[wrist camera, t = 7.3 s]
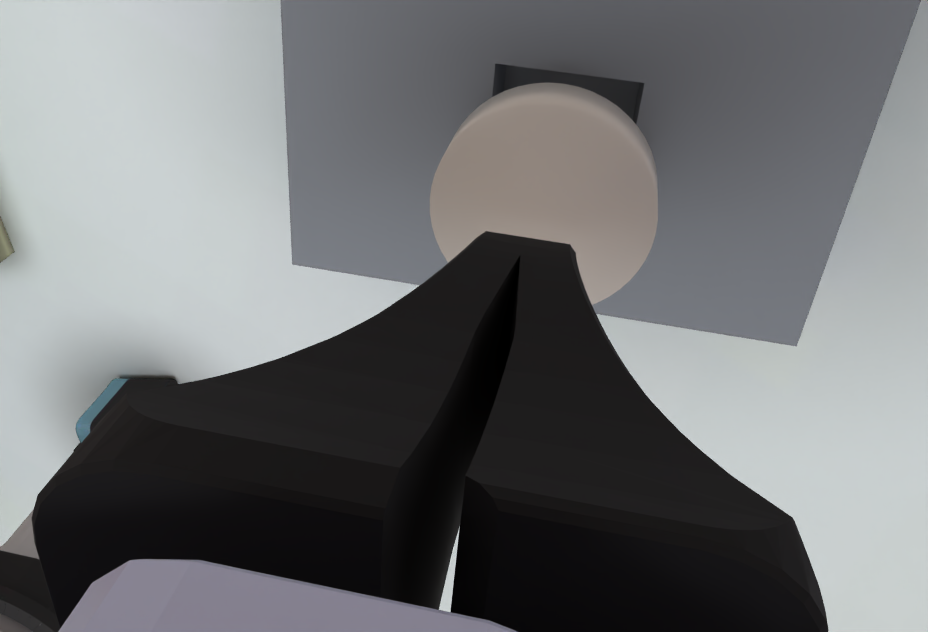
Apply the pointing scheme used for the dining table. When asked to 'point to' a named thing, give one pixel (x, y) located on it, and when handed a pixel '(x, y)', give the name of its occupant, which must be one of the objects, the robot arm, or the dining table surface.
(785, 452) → the dining table surface
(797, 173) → the knob panel
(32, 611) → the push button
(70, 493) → the robot arm
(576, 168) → the knob
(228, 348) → the dining table surface
